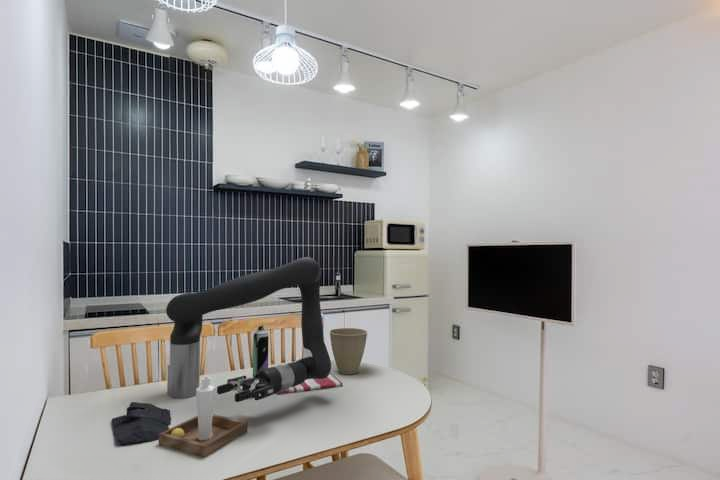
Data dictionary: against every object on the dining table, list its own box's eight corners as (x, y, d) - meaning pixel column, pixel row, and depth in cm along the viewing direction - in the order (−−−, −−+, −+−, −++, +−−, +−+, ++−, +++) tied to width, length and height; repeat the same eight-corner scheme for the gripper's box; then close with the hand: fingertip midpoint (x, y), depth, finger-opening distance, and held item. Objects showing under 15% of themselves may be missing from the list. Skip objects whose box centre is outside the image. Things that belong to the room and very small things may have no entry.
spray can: (264, 383, 151) (264, 327, 151) (250, 382, 152) (250, 327, 152) (270, 378, 156) (271, 324, 156) (256, 377, 157) (257, 324, 157)
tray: (158, 446, 103) (158, 433, 103) (204, 423, 117) (204, 412, 117) (204, 460, 97) (204, 446, 97) (247, 433, 110) (247, 422, 110)
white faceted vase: (198, 432, 109) (199, 375, 110) (215, 432, 110) (216, 375, 110) (192, 441, 105) (193, 380, 105) (210, 440, 105) (211, 380, 105)
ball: (167, 442, 104) (167, 429, 104) (177, 437, 107) (178, 424, 107) (176, 445, 102) (177, 432, 103) (187, 440, 105) (187, 427, 105)
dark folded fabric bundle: (105, 454, 100) (106, 434, 100) (112, 420, 120) (112, 403, 120) (175, 441, 107) (176, 422, 107) (171, 411, 127) (171, 395, 127)
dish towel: (268, 381, 155) (268, 374, 155) (328, 374, 164) (328, 367, 164) (276, 396, 139) (276, 388, 139) (343, 388, 148) (343, 380, 148)
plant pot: (368, 377, 159) (369, 335, 159) (329, 378, 158) (329, 335, 158) (365, 366, 174) (365, 327, 174) (329, 366, 173) (329, 327, 173)
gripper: (260, 362, 129) (212, 374, 116) (291, 371, 119) (242, 386, 107) (260, 387, 129) (211, 401, 116) (290, 398, 119) (241, 415, 107)
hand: (226, 394), depth 112 cm, fingers open, 8 cm apart
